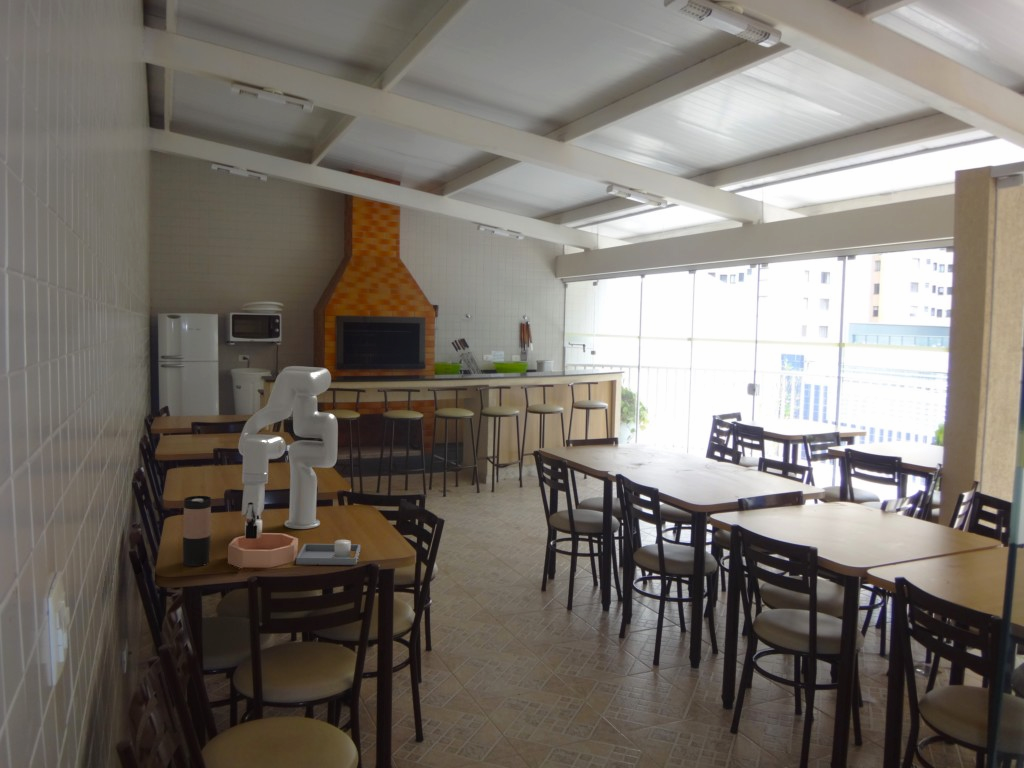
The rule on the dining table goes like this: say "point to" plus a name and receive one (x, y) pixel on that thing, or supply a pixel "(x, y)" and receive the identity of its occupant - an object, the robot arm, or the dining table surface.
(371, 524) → the dining table surface
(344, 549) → the pebble
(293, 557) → the bowl
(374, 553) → the dining table surface
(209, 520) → the travel mug
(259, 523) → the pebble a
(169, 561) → the dining table surface
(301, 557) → the parts tray
